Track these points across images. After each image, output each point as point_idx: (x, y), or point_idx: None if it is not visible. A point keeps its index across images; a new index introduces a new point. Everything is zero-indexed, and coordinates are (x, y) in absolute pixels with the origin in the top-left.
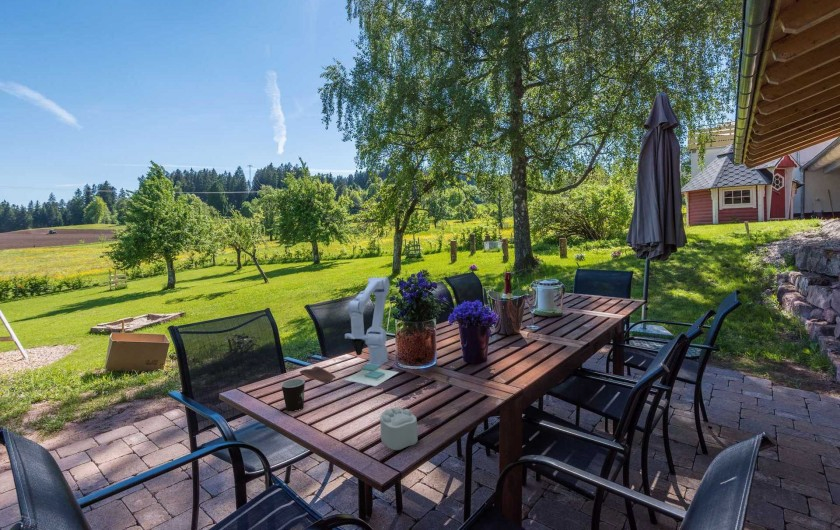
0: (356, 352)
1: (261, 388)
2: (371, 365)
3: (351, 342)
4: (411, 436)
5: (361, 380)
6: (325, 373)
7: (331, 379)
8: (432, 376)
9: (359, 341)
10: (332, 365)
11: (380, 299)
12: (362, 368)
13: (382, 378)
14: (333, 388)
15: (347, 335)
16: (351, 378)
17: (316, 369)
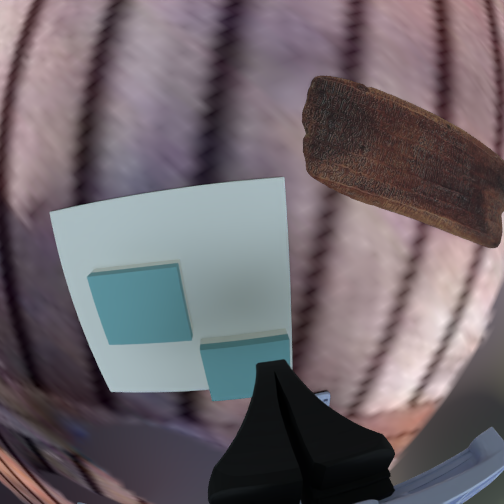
0: (285, 373)
1: (485, 7)
2: None
3: (373, 438)
4: None
5: (171, 226)
6: (433, 193)
7: (356, 145)
8: (16, 393)
9: (213, 499)
10: (458, 298)
11: None
12: (280, 339)
13: None
14: (247, 59)
15: (481, 474)
16: (255, 216)
17: (485, 213)
